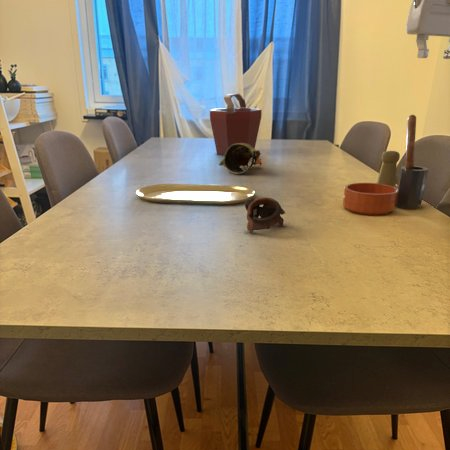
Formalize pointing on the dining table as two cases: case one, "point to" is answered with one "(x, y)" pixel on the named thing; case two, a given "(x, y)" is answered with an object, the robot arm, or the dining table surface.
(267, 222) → the dark brown hollow piece
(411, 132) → the stirring stick
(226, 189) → the serving platter
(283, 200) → the dining table surface
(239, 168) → the pot
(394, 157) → the pepper mill
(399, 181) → the utensil pot
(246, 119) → the bucket
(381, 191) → the bowl
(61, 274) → the dining table surface
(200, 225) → the dining table surface
